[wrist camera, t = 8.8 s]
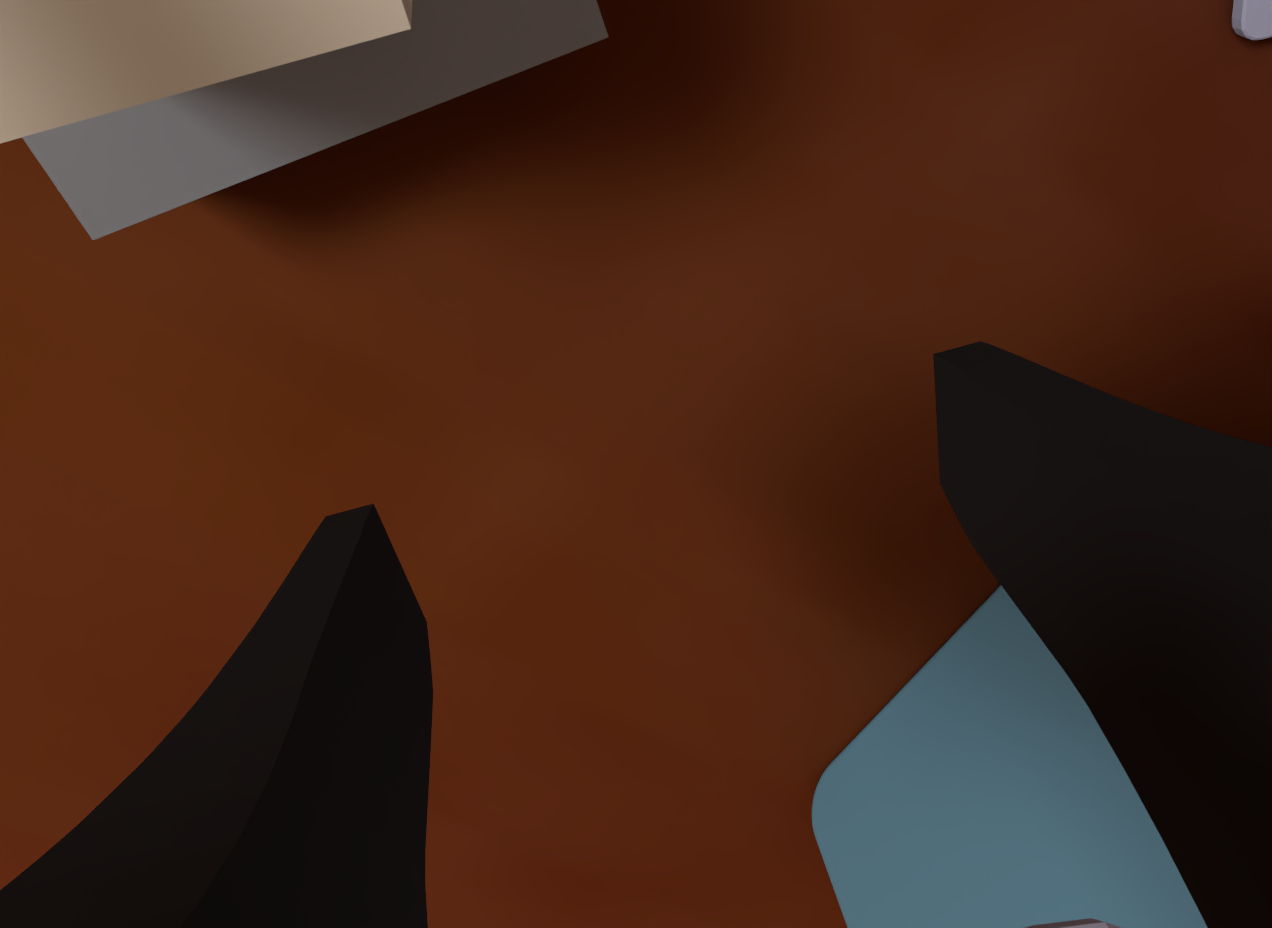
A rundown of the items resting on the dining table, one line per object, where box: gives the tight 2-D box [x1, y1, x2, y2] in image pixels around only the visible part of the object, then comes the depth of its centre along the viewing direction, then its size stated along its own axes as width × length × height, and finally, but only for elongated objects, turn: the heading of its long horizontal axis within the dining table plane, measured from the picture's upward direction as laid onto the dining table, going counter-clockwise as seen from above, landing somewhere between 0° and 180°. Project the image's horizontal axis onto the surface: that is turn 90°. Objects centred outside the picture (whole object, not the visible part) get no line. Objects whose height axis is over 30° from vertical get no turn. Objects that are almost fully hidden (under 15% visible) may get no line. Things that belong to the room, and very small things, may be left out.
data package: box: [812, 585, 1207, 928], centre depth 27 cm, size 12×4×12 cm, turn 147°
